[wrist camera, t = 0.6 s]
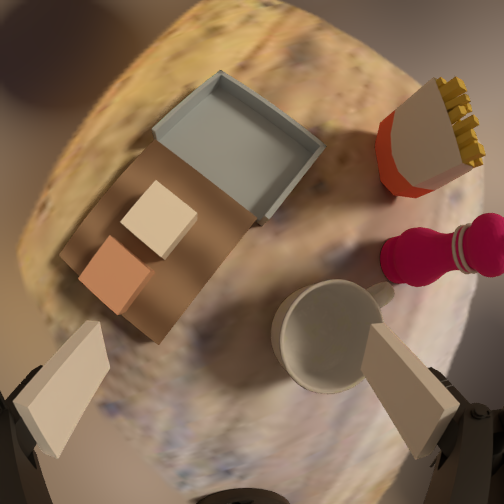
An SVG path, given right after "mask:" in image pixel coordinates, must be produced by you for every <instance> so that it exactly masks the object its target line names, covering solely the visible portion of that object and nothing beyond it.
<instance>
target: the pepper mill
mask: <svg viewBox="0 0 504 504" xmlns="http://www.w3.org/2000/svg"><path fill="white" fill-rule="evenodd" d="M380 263H381V268H382V271H383V273H384V275H385V276H386V277H387V279H388V280H390V281H391V282H393V283H398V284H401V283H407V284H408V285H411V286H414V287H421V286H426V285H429V284H431V283H433V282H435V281H436V280H437V279H439V278H440V277H441V276H442V275H444V274H445V273H446V272H449V271H453V270H460V271H461V272H462V273H464V274H470V273H473V274H475V273H477V272H478V273H480V274H481V275H483V276H486V277H496V276H500V275H501V274H503V273H504V217H502V216H500V215H498V214H495V213H486V214H482V215H480V216H478V217H477V218H476V219H475V220H474V221H473V222H472V224H471V223H468V224H466V225H460V226H459V227H457V229H456V230H455V232H453V233H449V234H444V233H439V232H437V231H434V230H431V229H428V228H422V227H418V228H411V229H408V230H406V231H405V232H403V233H402V234H401V235H400V236H396V237H392V238H390V239H389V240H387V241H386V242H385V244H384V245H383V247H382V250H381V255H380Z"/></svg>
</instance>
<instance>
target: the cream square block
mask: <svg viewBox="0 0 504 504" xmlns="http://www.w3.org/2000/svg"><path fill="white" fill-rule="evenodd" d="M196 221H197V212H196V211H194V210H193V209H192V208H191V207H189V206H188V205H187V204H186V203H184V202H183V201H182V200H180V199H179V198H178V197H177V196H175V195H174V194H173V193H172V192H170V191H169V190H168V189H167V188H165V187H164V186H163V185H162V184H160V183H159V182H158V181H157V180H155V181H154V183H153V184H152V185H151V186H150V187H149V188H148V189H147V190H146V192H145V193H144V194H143V195H142V196H141V197H140V199H139V200H138V201H137V202H136V203H135V204H134V206H133V207H132V208H131V209H130V210H129V212H128V213H127V214H126V215H125V217H124V218H123V219H122V220H121V221H120V222H121V223H122V224H123V225H124V226H125V227H126V228H127V229H129V230H130V231H131V232H132V233H133V234H134V235H135V236H137V237H138V238H139V239H140V240H141V241H142V242H144V243H145V244H146V245H147V246H148V247H150V248H151V249H152V250H153V251H154V252H156V253H157V254H158V255H159V256H160V257H162V258H163V259H164V260H166V258H167V257H168V256H169V254H170V253H171V252H172V251H173V249H174V248H175V247H176V246H177V244H178V243H179V242H180V241H181V239H182V238H183V237H184V236H185V235H186V233H187V232H188V231H189V230H190V228H191V227H192V226H193V225H194V224H195V222H196Z"/></svg>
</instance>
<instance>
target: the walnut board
mask: <svg viewBox="0 0 504 504" xmlns="http://www.w3.org/2000/svg"><path fill="white" fill-rule="evenodd" d="M155 180H157V181H158V182H159V183H160V184H162V185H163V186H164V187H165V188H167V189H168V190H169V191H170V192H172V193H173V194H174V195H175V196H177V197H178V198H179V199H180V200H182V201H183V202H184V203H186V204H187V205H188V206H189V207H191V208H192V209H193V210H194V211H196V212H197V221H196V222H195V224H194V225H193V226H192V227H191V228H190V230H189V231H188V232H187V233H186V235H185V236H184V237H183V238H182V239H181V241H180V242H179V243H178V244H177V246H176V247H175V248H174V249H173V251H172V252H171V253H170V254H169V256H168V257H167V258H166V260H164V259H163V258H162V257H160V256H159V255H158V254H157V253H156V252H154V251H153V250H152V249H151V248H150V247H148V246H147V245H146V244H145V243H144V242H142V241H141V240H140V239H139V238H138V237H137V236H135V235H134V234H133V233H132V232H131V231H130V230H129V229H127V228H126V227H125V226H124V225H123V224H122V223H121V222H120V221H121V220H122V219H123V218H124V217H125V215H126V214H127V213H128V212H129V210H130V209H131V208H132V207H133V206H134V204H135V203H136V202H137V201H138V200H139V199H140V197H141V196H142V195H143V194H144V193H145V192H146V190H147V189H148V188H149V187H150V186H151V185H152V184H153V183H154V181H155ZM256 219H257V217H256V216H254V215H253V214H252V213H251V212H249V211H248V210H247V209H246V208H244V207H243V206H242V205H240V204H239V203H238V202H237V201H235V200H234V199H233V198H232V197H230V196H229V195H228V194H227V193H225V192H224V191H223V190H221V189H220V188H219V187H218V186H216V185H215V184H214V183H212V182H211V181H210V180H209V179H207V178H206V177H205V176H203V175H202V174H201V173H199V172H198V171H197V170H196V169H194V168H193V167H192V166H190V165H189V164H188V163H186V162H185V161H184V160H182V159H181V158H180V157H178V156H177V155H176V154H175V153H173V152H172V151H171V150H169V149H168V148H167V147H165V146H164V145H163V144H161V143H160V142H158V141H157V140H156V139H155V140H154V141H153V142H152V143H151V144H150V145H149V146H148V147H147V148H146V149H145V150H144V151H143V152H142V153H141V154H140V155H139V156H138V157H137V158H136V159H135V160H134V161H133V162H132V163H131V165H130V166H129V167H128V168H127V169H126V170H125V171H124V172H123V173H122V174H121V176H120V177H119V178H118V179H117V180H116V181H115V182H114V184H113V185H112V186H111V187H110V188H109V189H108V191H107V192H106V193H105V194H104V195H103V197H102V198H101V199H100V200H99V202H98V203H97V204H96V205H95V206H94V208H93V209H92V210H91V212H90V213H89V214H88V215H87V217H86V218H85V219H84V221H83V222H82V223H81V225H80V226H79V227H78V229H77V230H76V231H75V233H74V234H73V235H72V237H71V238H70V240H69V241H68V242H67V244H66V245H65V247H64V248H63V250H62V251H61V252H60V254H59V256H60V257H61V258H62V259H63V260H64V261H65V262H66V263H67V264H68V265H69V266H70V267H71V268H72V269H73V270H74V271H75V272H76V273H77V274H78V275H79V276H80V275H81V274H82V272H83V271H84V269H85V268H86V267H87V265H88V264H89V262H90V261H91V260H92V258H93V257H94V255H95V254H96V253H97V251H98V250H99V249H100V247H101V246H102V245H103V243H104V242H105V241H106V239H107V238H108V237H109V235H110V236H112V237H114V238H115V239H117V240H119V241H120V242H121V243H122V244H123V245H124V246H125V247H127V248H128V249H129V250H130V251H131V252H132V253H133V254H135V255H136V256H137V257H138V258H139V259H140V260H142V261H143V262H144V263H145V264H146V265H147V266H149V267H150V268H151V269H152V270H153V271H155V274H154V275H153V276H152V278H151V279H150V280H149V281H148V283H147V284H146V285H145V287H144V288H143V289H142V291H141V292H140V293H139V295H138V296H137V297H136V299H135V300H134V301H133V303H132V304H131V306H130V307H129V308H128V310H127V311H126V312H125V313H122V314H121V315H122V316H123V317H124V318H126V319H127V320H128V321H129V322H130V323H132V324H133V325H134V326H135V327H136V328H138V329H139V330H140V331H141V332H143V333H144V334H145V335H146V336H148V337H149V338H150V339H151V340H153V341H154V342H155V343H156V344H158V345H159V344H160V343H161V341H162V340H163V339H164V338H165V336H166V335H167V334H168V332H169V331H170V330H171V328H172V327H173V326H174V324H175V323H176V322H177V320H178V319H179V318H180V317H181V315H182V314H183V313H184V311H185V310H186V309H187V307H188V306H189V305H190V304H191V302H192V301H193V300H194V298H195V297H196V296H197V294H198V293H199V292H200V291H201V289H202V288H203V287H204V285H205V284H206V283H207V282H208V280H209V279H210V278H211V276H212V275H213V274H214V273H215V271H216V270H217V269H218V267H219V266H220V265H221V264H222V262H223V261H224V260H225V258H226V257H227V256H228V255H229V253H230V252H231V251H232V250H233V248H234V247H235V246H236V244H237V243H238V242H239V241H240V239H241V238H242V237H243V236H244V234H245V233H246V232H247V231H248V229H249V228H250V227H251V226H252V224H253V223H254V222H255V221H256Z"/></svg>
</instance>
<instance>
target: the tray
mask: <svg viewBox="0 0 504 504" xmlns="http://www.w3.org/2000/svg"><path fill="white" fill-rule="evenodd" d="M152 133H153V137H154V140H155V139H156V140H157V141H158V142H160V143H161V144H163V145H164V146H165V147H167V148H168V149H169V150H171V151H172V152H173V153H175V154H176V155H177V156H178V157H180V158H181V159H182V160H184V161H185V162H186V163H188V164H189V165H190V166H192V167H193V168H194V169H196V170H197V171H198V172H199V173H201V174H202V175H203V176H205V177H206V178H207V179H209V180H210V181H211V182H212V183H214V184H215V185H216V186H218V187H219V188H220V189H221V190H223V191H224V192H225V193H227V194H228V195H229V196H230V197H232V198H233V199H234V200H235V201H237V202H238V203H239V204H240V205H242V206H243V207H244V208H246V209H247V210H248V211H249V212H251V213H252V214H253V215H254V216H256V217H257V219H256V222H257V223H258V224H259V225H261V226H263V225H264V224H265V223H266V222H267V221H268V220H269V219H270V218H271V217H272V215H273V214H274V213H275V212H276V210H277V209H278V208H279V206H280V205H281V204H282V203H283V201H284V200H285V199H286V197H287V196H288V195H289V194H290V192H291V191H292V190H293V189H294V187H295V186H296V185H297V183H298V182H299V181H300V180H301V178H302V177H303V176H304V174H305V173H306V172H307V171H308V169H309V168H310V167H311V166H312V164H313V163H314V162H315V161H316V159H317V158H318V157H319V155H320V154H321V153H322V152H323V150H324V149H325V148H326V147H327V146H326V145H325V144H324V143H323V142H321V141H320V140H319V139H318V138H317V137H315V136H314V135H313V134H312V133H310V132H309V131H308V130H306V129H305V128H304V127H303V126H301V125H300V124H299V123H297V122H296V121H295V120H294V119H292V118H291V117H290V116H288V115H287V114H285V113H284V112H283V111H281V110H280V109H279V108H277V107H276V106H274V105H273V104H272V103H270V102H269V101H267V100H266V99H265V98H263V97H262V96H260V95H259V94H257V93H256V92H254V91H253V90H251V89H250V88H248V87H247V86H245V85H244V84H242V83H241V82H239V81H238V80H236V79H234V78H233V77H231V76H230V75H228V74H226V73H225V72H223V71H222V70H220V71H218V72H217V73H216V74H214V75H213V76H212V77H211V78H209V79H208V80H207V81H205V82H204V83H203V84H202V85H200V86H199V87H198V88H197V89H196V90H194V91H193V92H192V93H191V94H190V95H188V96H187V97H186V98H185V99H184V100H183V101H181V102H180V103H179V104H178V105H177V106H176V107H175V108H173V109H172V110H171V111H170V112H169V113H168V114H167V115H166V116H165V117H164V118H162V119H161V120H160V121H159V122H158V123H157V124H156V125H155V126H154V127H153V128H152Z"/></svg>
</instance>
